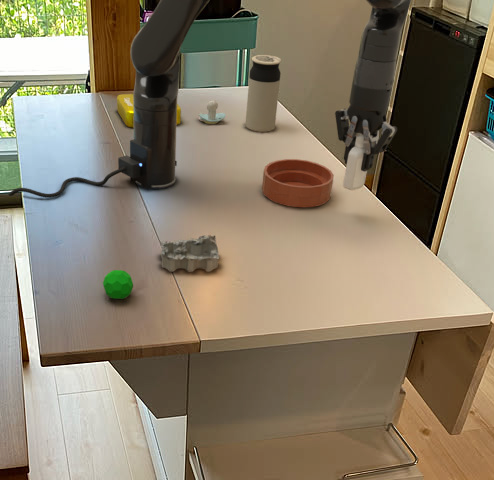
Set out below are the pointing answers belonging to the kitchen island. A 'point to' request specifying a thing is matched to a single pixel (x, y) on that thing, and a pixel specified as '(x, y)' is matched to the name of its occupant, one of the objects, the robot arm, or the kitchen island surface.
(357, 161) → the eye dropper bottle
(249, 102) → the travel mug
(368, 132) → the robot arm
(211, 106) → the pacifier
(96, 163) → the kitchen island surface
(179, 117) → the element tile
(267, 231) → the kitchen island surface
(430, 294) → the kitchen island surface
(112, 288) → the polyhedron
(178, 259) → the egg carton
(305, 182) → the bowl
